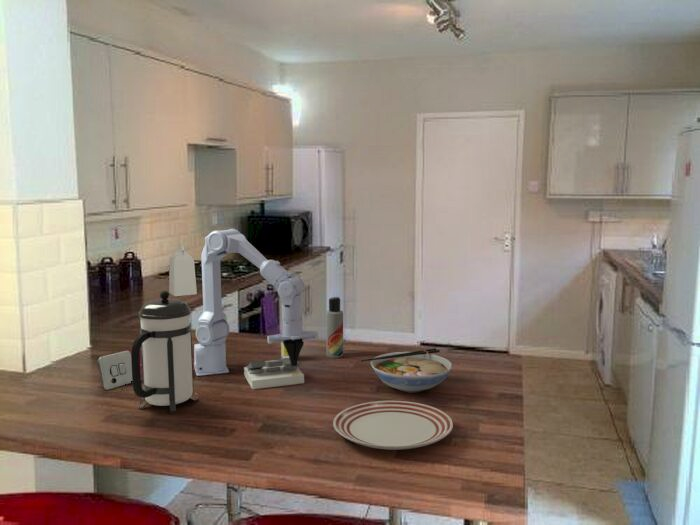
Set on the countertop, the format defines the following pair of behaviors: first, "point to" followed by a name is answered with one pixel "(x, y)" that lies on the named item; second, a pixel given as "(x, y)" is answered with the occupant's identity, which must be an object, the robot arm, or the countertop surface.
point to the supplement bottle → (283, 350)
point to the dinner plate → (393, 424)
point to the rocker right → (288, 362)
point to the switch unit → (273, 377)
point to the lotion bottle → (334, 329)
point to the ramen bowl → (411, 369)
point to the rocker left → (256, 365)
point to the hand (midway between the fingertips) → (294, 365)
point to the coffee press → (164, 353)
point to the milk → (182, 273)
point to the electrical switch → (115, 369)
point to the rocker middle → (273, 363)
